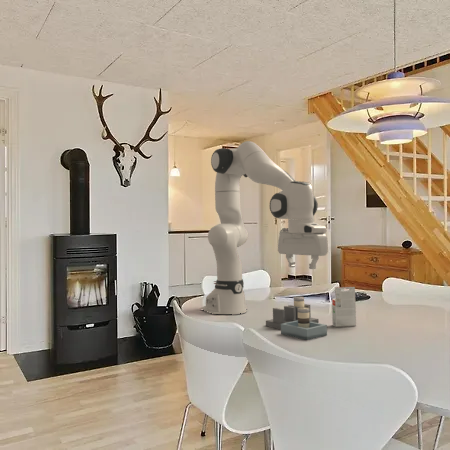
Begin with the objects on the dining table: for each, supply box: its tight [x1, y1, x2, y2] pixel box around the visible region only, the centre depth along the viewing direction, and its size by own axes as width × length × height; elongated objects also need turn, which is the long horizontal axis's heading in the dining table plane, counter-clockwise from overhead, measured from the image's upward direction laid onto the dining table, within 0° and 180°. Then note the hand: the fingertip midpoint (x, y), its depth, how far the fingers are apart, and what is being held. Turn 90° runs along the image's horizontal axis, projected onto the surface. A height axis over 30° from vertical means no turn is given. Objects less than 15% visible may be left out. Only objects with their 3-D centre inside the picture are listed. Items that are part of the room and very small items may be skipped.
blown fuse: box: [297, 307, 310, 329], centre depth 159 cm, size 4×4×8 cm
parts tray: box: [280, 320, 328, 341], centre depth 159 cm, size 12×10×4 cm
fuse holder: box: [265, 303, 319, 330], centre depth 174 cm, size 12×16×7 cm
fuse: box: [293, 296, 305, 307], centre depth 176 cm, size 4×4×8 cm
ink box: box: [331, 286, 357, 328], centre depth 171 cm, size 4×8×15 cm, turn 96°
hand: (302, 268), depth 159 cm, fingers open, 8 cm apart
